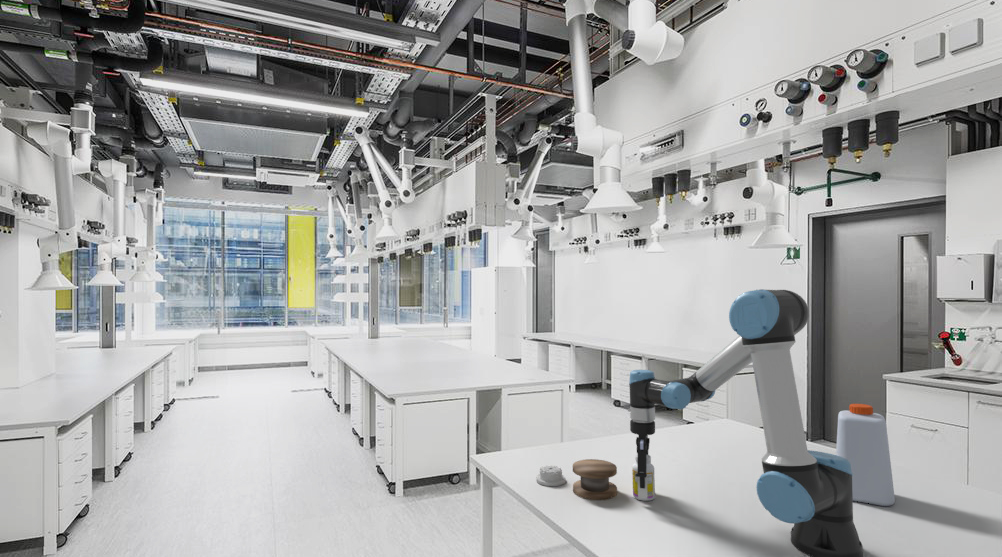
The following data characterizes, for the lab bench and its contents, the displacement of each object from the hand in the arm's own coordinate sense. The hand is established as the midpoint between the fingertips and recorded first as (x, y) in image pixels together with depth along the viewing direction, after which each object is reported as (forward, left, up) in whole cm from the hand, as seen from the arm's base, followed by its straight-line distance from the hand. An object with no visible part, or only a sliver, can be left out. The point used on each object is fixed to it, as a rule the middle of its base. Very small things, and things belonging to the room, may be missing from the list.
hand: (643, 491), depth 159 cm
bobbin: (+8, +13, -2) cm, 15 cm away
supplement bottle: (0, 0, -2) cm, 2 cm away
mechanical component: (+20, +24, -2) cm, 31 cm away
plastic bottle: (-14, -67, -2) cm, 68 cm away
